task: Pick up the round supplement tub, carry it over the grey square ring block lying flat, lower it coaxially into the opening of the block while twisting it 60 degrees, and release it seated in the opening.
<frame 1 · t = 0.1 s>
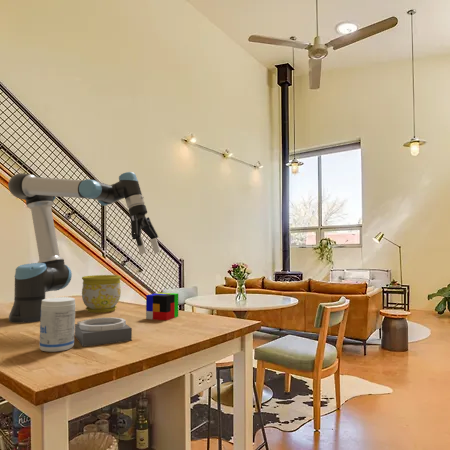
hand: (150, 253, 160), 28 cm above the counter, tool tilted 20°, fingers open, 13 cm apart
flowerpot: (101, 311, 180), on the counter
puzzle toy: (162, 318, 161), on the counter
supplement tub: (57, 349, 112), on the counter
grey square ring block: (102, 338, 125), on the counter
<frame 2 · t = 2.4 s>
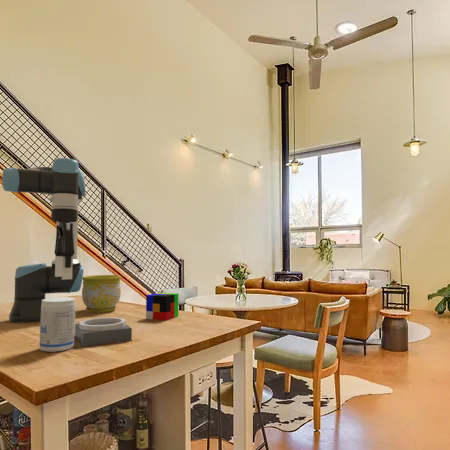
hand: (63, 277, 114), 21 cm above the counter, tool pointing down, fingers open, 13 cm apart
nothing on the counter moved.
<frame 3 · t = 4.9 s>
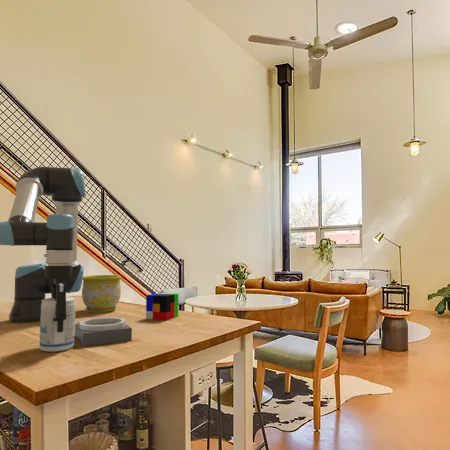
hand: (57, 339, 112), 3 cm above the counter, tool pointing down, fingers closed on supplement tub, 10 cm apart
supplement tub: (57, 349, 112), on the counter, touching gripper
everything else where it was.
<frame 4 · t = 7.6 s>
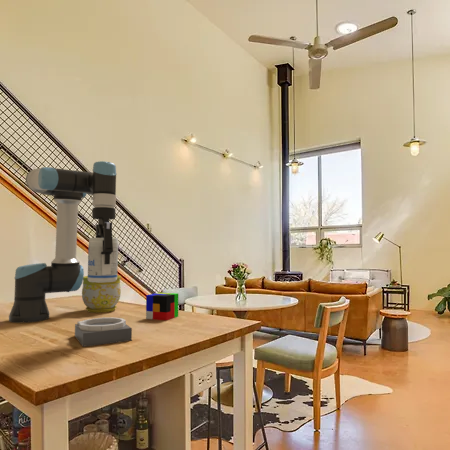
hand: (102, 273, 126), 21 cm above the counter, tool pointing down, fingers closed on supplement tub, 10 cm apart
supplement tub: (102, 282, 125), point 19 cm above the counter, touching gripper
everything else where it was.
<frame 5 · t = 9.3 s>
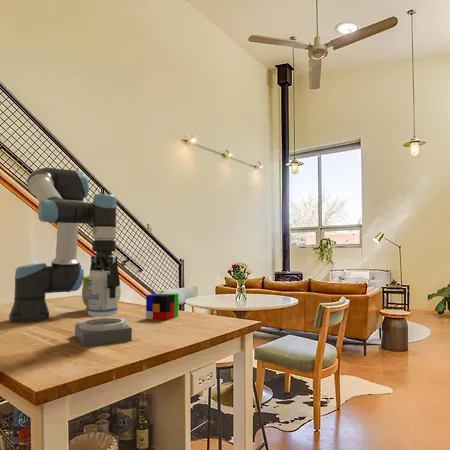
hand: (103, 306, 125), 10 cm above the counter, tool pointing down, fingers closed on supplement tub, 10 cm apart
supplement tub: (102, 315, 125), point 8 cm above the counter, touching gripper
everything else where it was.
when the fingers open (7 cm above the counter, at t = 10.7 s): supplement tub stays where it is, resting on grey square ring block.
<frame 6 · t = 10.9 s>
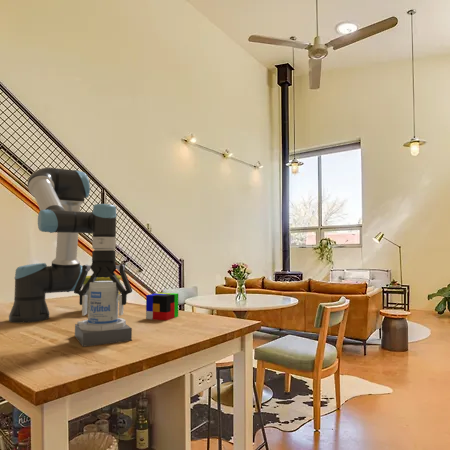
hand: (102, 314, 125), 8 cm above the counter, tool pointing down, fingers open, 11 cm apart
supplement tub: (103, 326, 125), point 4 cm above the counter, touching grey square ring block
everything else where it was.
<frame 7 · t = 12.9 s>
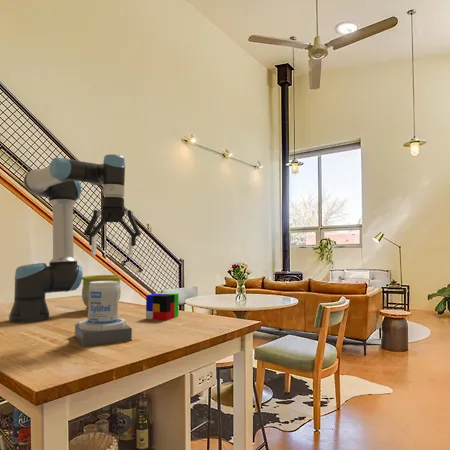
hand: (112, 255, 136), 27 cm above the counter, tool pointing down, fingers open, 13 cm apart
nothing on the counter moved.
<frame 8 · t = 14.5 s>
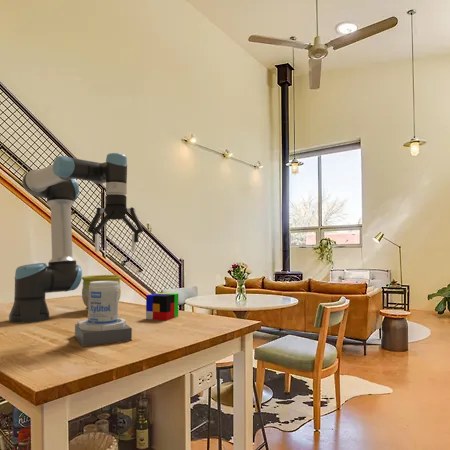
hand: (115, 251, 139), 29 cm above the counter, tool pointing down, fingers open, 13 cm apart
nothing on the counter moved.
at the end: supplement tub 0.1 cm from the grey square ring block (horizontally); supplement tub tilted 0°; supplement tub touching grey square ring block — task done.
